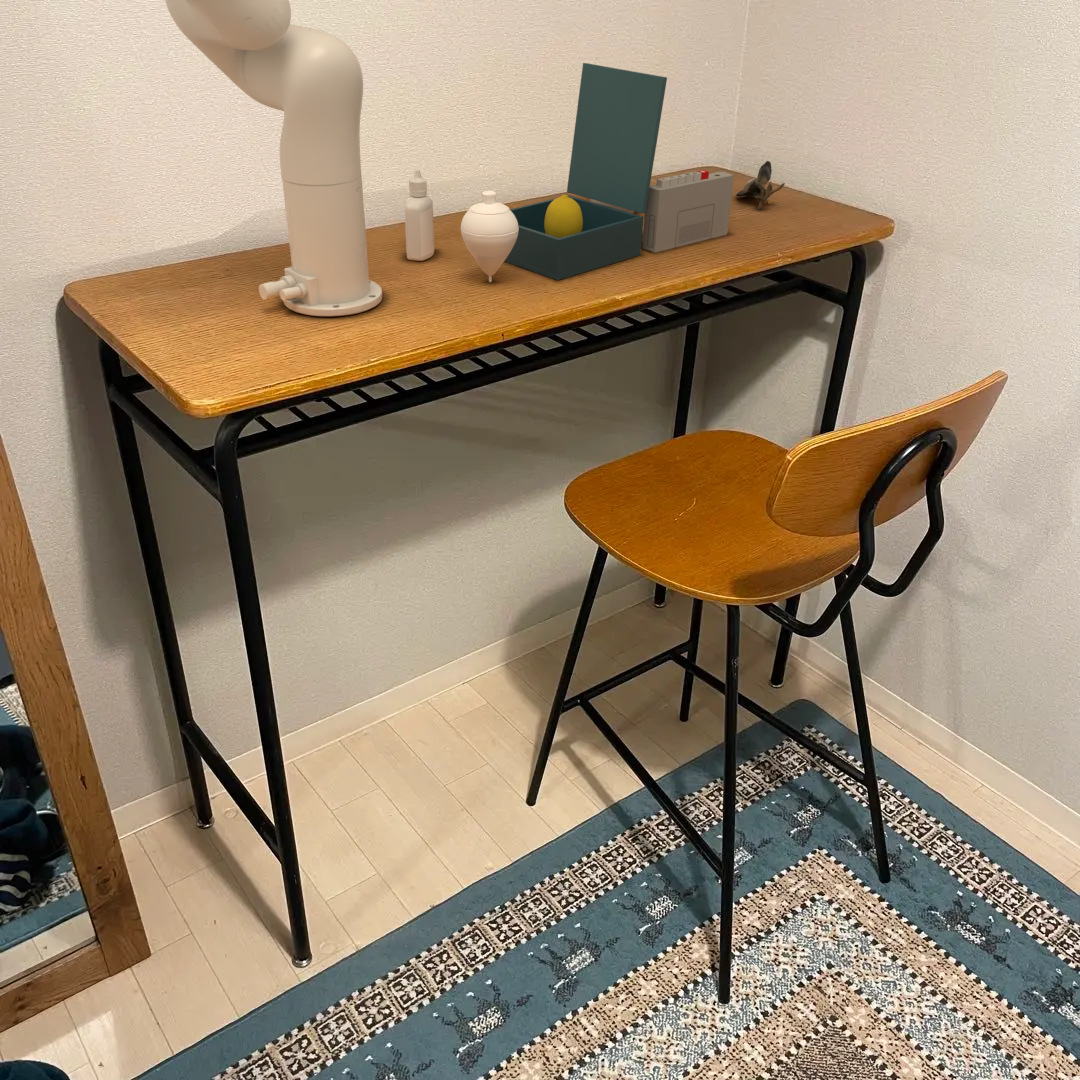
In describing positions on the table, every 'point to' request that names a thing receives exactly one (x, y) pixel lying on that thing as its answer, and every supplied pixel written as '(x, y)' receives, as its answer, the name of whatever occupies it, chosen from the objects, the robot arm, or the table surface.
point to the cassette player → (687, 209)
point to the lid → (616, 136)
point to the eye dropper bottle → (419, 220)
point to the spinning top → (489, 232)
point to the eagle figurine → (760, 186)
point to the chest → (575, 240)
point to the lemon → (563, 217)
